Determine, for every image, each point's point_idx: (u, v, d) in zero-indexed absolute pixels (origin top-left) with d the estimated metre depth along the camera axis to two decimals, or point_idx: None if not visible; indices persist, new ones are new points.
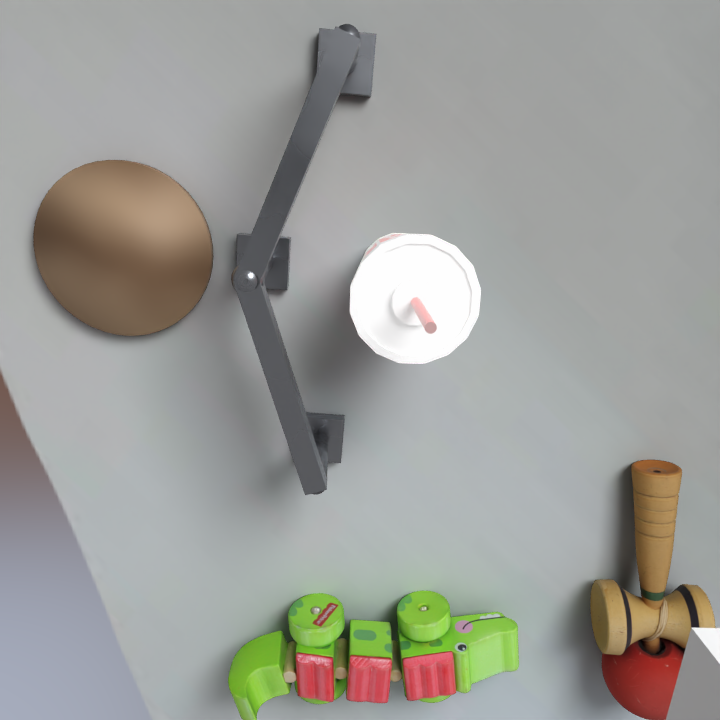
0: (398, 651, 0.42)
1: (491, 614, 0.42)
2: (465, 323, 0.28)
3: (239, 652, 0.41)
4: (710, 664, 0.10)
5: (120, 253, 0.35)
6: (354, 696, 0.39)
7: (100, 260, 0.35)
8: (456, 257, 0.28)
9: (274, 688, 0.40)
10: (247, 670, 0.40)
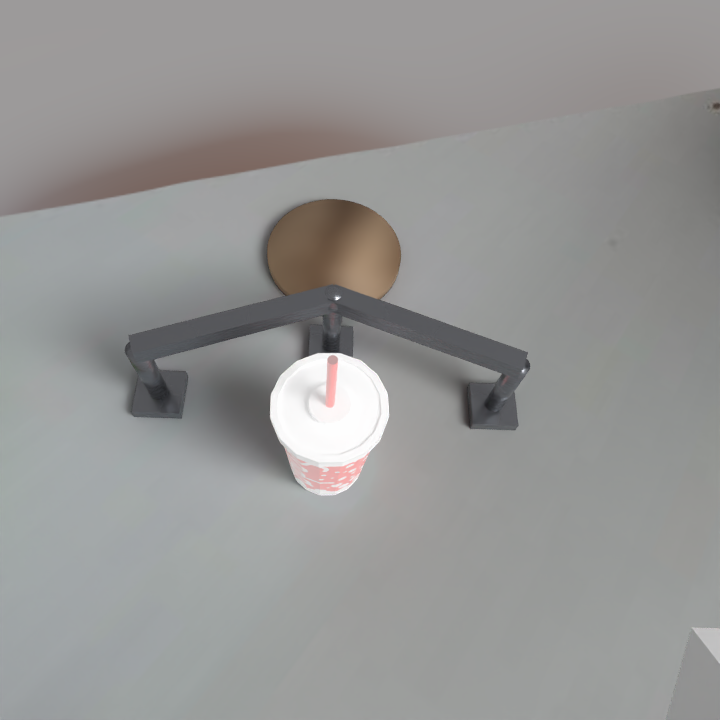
0: None
1: None
2: (310, 451, 0.30)
3: None
4: (710, 664, 0.10)
5: (332, 249, 0.46)
6: None
7: (326, 236, 0.46)
8: (371, 437, 0.30)
9: None
10: None
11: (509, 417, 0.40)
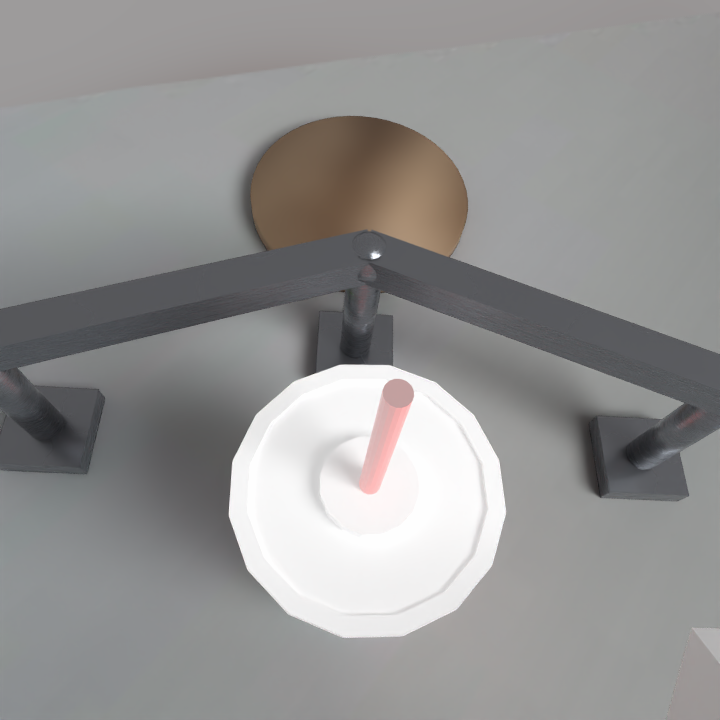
0: None
1: None
2: (322, 606, 0.12)
3: None
4: (710, 664, 0.10)
5: (357, 190, 0.28)
6: None
7: (348, 171, 0.29)
8: (468, 569, 0.13)
9: None
10: None
11: (672, 480, 0.23)
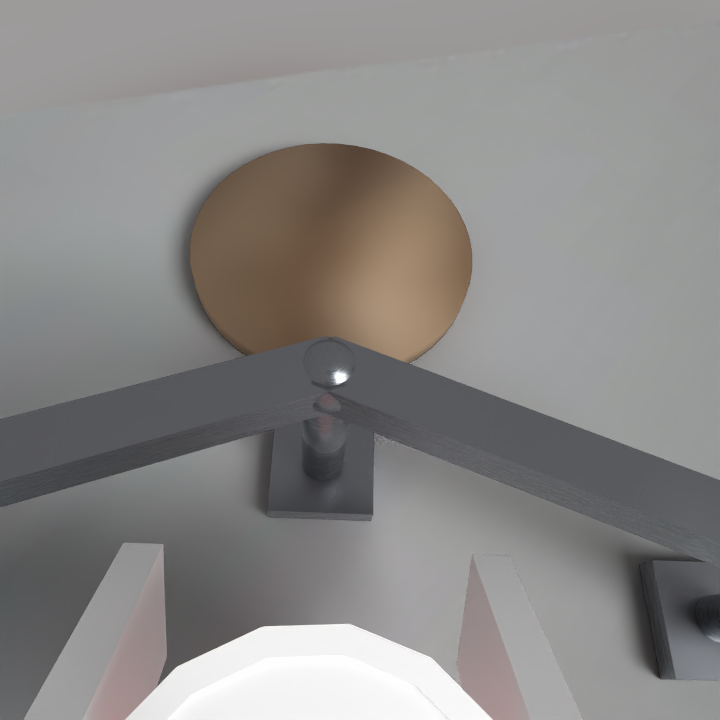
0: None
1: None
2: None
3: None
4: (478, 582, 0.12)
5: (330, 242, 0.22)
6: None
7: (317, 216, 0.22)
8: None
9: None
10: None
11: None
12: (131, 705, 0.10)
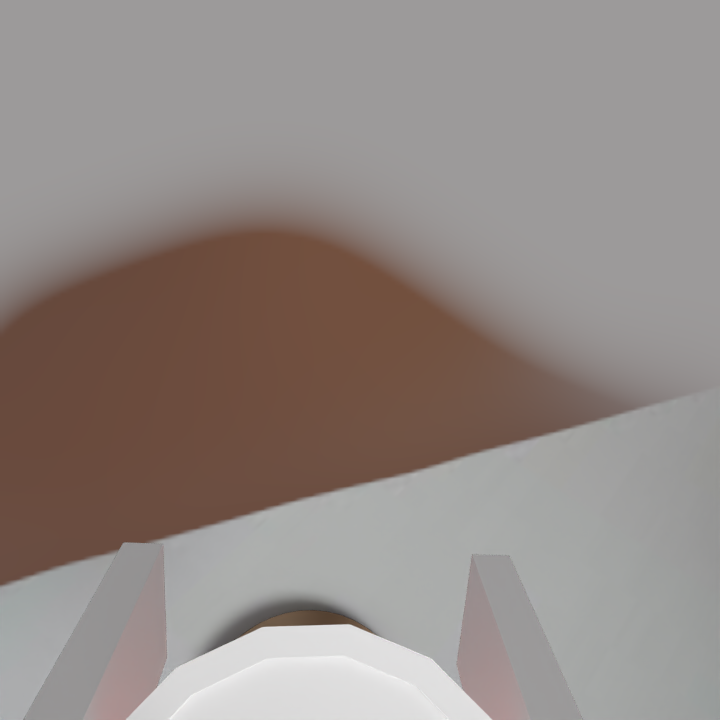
0: None
1: None
2: None
3: None
4: (477, 582, 0.12)
5: None
6: None
7: None
8: None
9: None
10: None
11: None
12: (131, 705, 0.10)
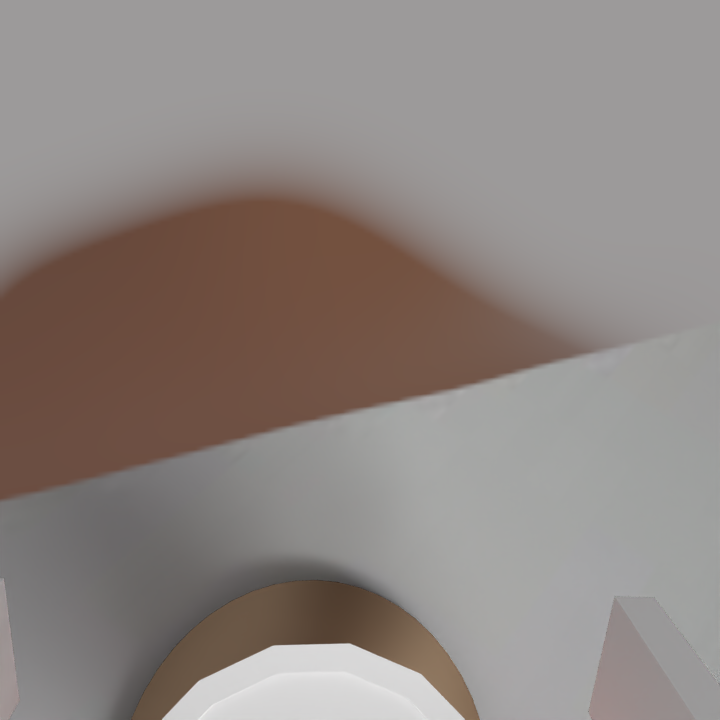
0: None
1: None
2: None
3: None
4: (627, 628, 0.11)
5: None
6: None
7: None
8: None
9: None
10: None
11: None
12: None
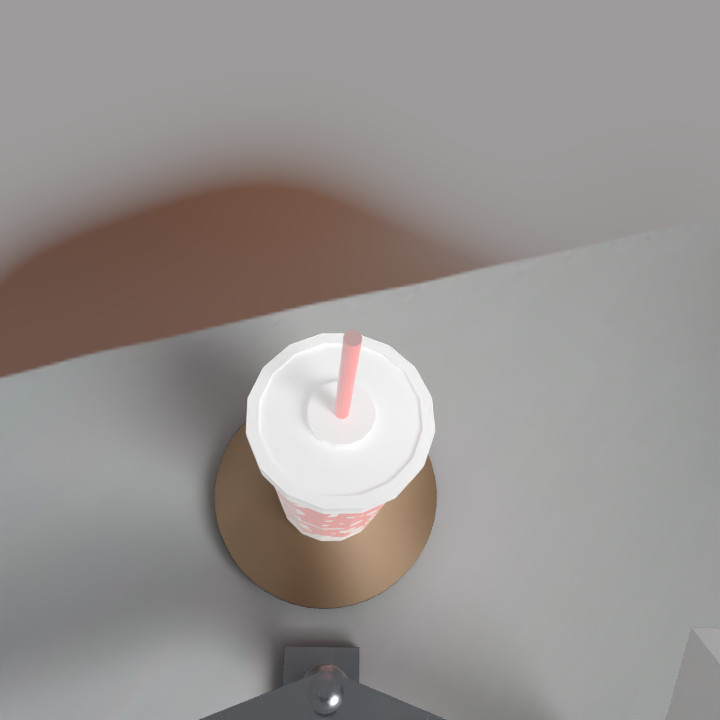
0: None
1: None
2: (310, 490, 0.18)
3: None
4: (710, 664, 0.10)
5: None
6: None
7: None
8: (408, 467, 0.19)
9: None
10: None
11: None
12: None
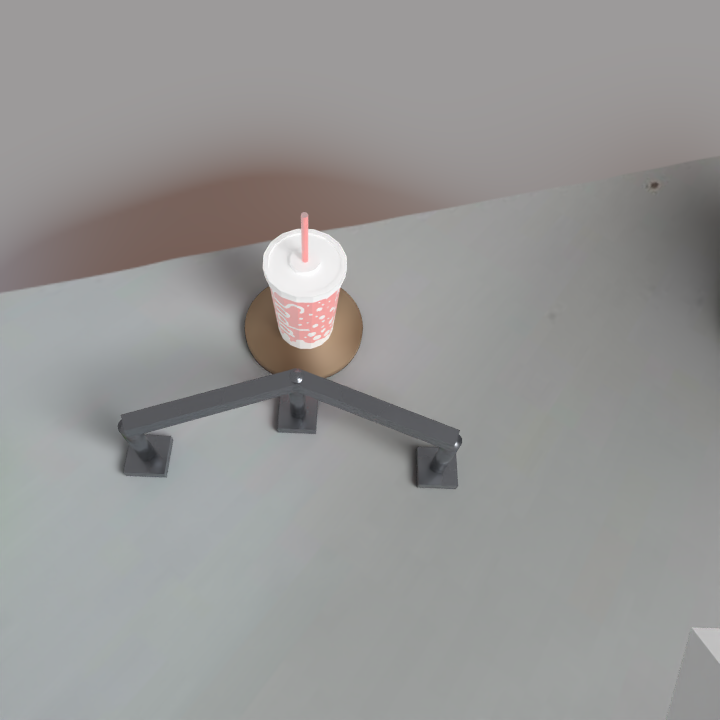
0: None
1: None
2: (290, 290, 0.43)
3: None
4: (710, 664, 0.10)
5: None
6: None
7: None
8: (333, 282, 0.43)
9: None
10: None
11: (450, 478, 0.47)
12: None
